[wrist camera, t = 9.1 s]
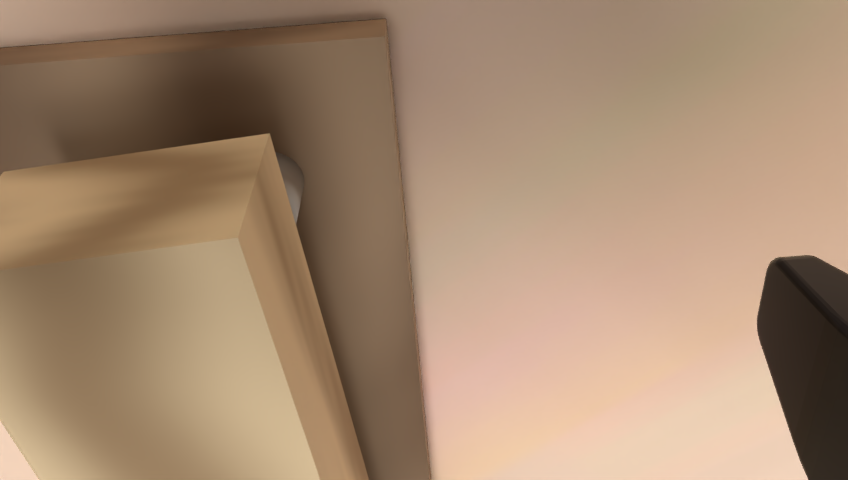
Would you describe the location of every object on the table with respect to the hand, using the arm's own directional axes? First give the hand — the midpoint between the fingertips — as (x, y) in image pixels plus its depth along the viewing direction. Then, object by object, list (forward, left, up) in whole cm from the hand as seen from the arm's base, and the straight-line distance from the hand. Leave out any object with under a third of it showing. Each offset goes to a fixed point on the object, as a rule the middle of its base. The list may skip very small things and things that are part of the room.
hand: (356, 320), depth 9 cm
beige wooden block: (+5, +10, -9) cm, 14 cm away
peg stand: (+5, +10, -12) cm, 16 cm away
